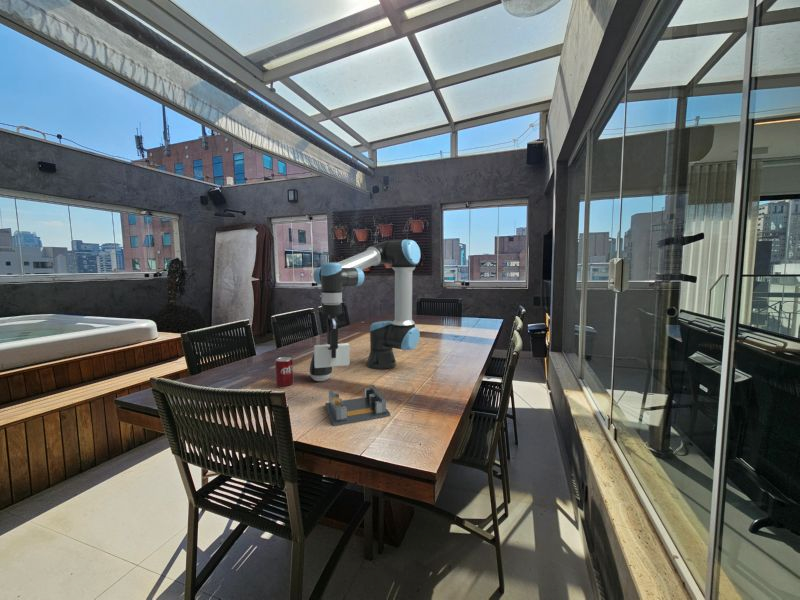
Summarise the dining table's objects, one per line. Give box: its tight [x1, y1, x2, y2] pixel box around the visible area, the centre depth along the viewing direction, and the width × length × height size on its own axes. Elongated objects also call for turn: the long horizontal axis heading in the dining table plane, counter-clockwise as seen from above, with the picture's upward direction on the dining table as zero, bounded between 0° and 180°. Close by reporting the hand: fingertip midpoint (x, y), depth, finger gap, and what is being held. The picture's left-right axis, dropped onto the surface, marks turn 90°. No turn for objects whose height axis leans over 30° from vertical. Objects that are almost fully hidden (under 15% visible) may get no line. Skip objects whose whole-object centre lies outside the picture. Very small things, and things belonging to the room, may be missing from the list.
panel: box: [313, 342, 351, 368], centre depth 129 cm, size 13×3×8 cm, turn 110°
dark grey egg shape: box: [309, 352, 333, 382], centre depth 154 cm, size 10×10×15 cm
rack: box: [324, 384, 391, 427], centre depth 122 cm, size 20×17×7 cm
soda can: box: [274, 356, 295, 389], centre depth 147 cm, size 7×7×12 cm
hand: (332, 364), depth 129 cm, fingers closed on panel, 3 cm apart
